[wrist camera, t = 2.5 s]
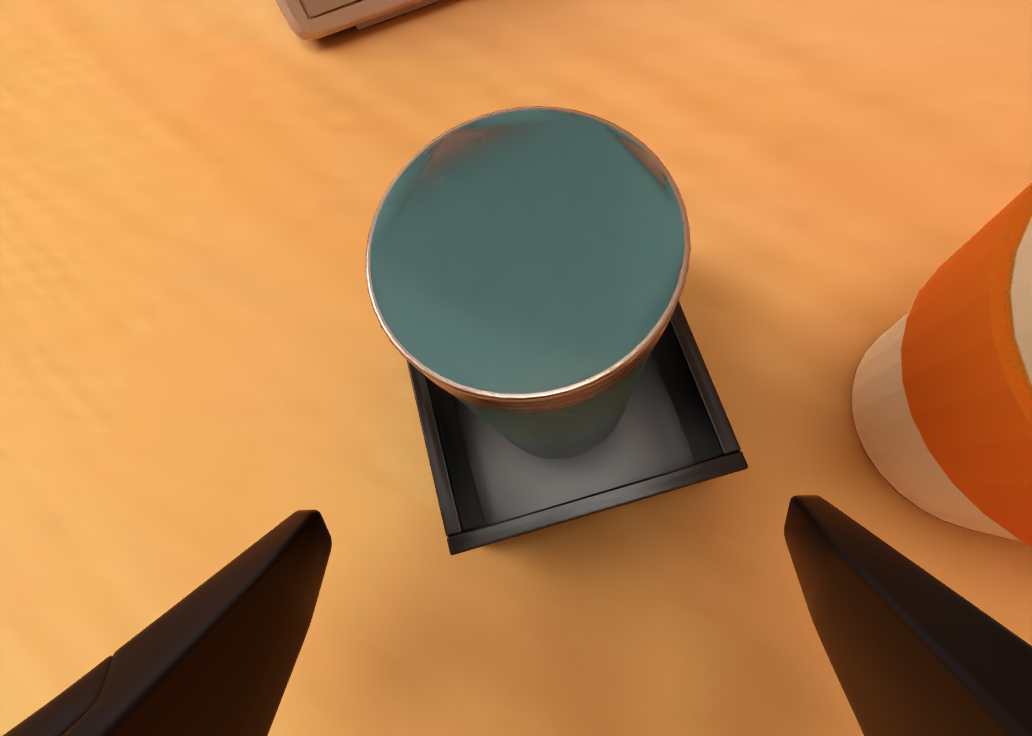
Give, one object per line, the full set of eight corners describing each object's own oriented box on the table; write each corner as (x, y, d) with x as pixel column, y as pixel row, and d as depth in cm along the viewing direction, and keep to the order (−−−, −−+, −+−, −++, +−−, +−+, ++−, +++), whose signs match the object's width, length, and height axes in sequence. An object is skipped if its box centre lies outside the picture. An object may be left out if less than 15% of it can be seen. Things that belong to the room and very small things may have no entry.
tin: (650, 435, 20) (748, 338, 8) (506, 478, 20) (399, 445, 9) (601, 302, 22) (624, 65, 10) (470, 343, 22) (339, 161, 10)
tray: (713, 475, 20) (749, 468, 16) (477, 544, 20) (449, 555, 16) (625, 252, 23) (634, 195, 19) (423, 317, 24) (387, 276, 19)
